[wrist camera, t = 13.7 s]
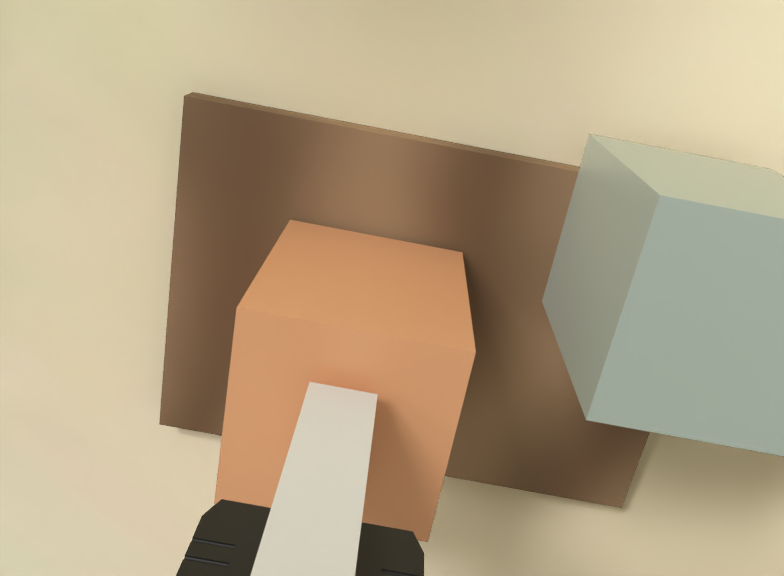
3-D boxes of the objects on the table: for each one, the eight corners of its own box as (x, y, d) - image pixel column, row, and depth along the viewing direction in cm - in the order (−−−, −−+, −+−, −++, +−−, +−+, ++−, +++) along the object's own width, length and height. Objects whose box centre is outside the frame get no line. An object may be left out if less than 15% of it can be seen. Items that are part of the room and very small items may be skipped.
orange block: (269, 372, 24) (214, 503, 18) (290, 219, 22) (236, 307, 16) (427, 401, 24) (427, 541, 18) (462, 252, 22) (476, 352, 16)
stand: (167, 411, 26) (159, 424, 25) (192, 92, 22) (184, 96, 21) (615, 493, 26) (621, 507, 25) (724, 194, 22) (734, 201, 21)
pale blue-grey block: (541, 301, 23) (586, 419, 16) (589, 134, 21) (659, 195, 14) (706, 332, 23) (813, 461, 16) (769, 168, 21) (917, 244, 15)
